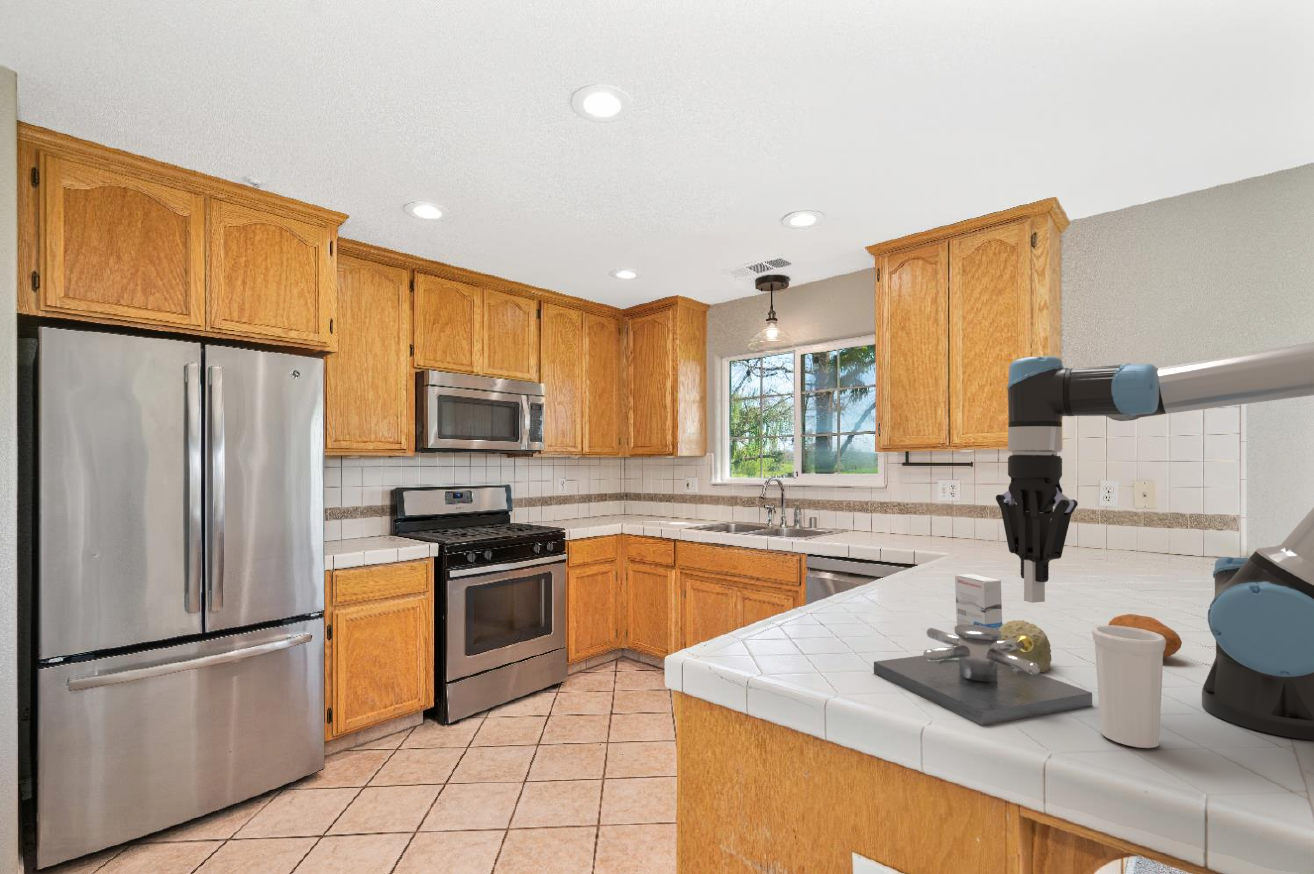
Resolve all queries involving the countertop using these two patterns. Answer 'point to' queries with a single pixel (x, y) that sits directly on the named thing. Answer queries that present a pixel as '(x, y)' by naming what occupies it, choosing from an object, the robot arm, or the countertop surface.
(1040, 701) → the stand
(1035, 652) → the decorative object
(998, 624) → the ink box
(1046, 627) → the countertop surface
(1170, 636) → the potato
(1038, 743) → the countertop surface
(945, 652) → the capstan
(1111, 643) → the cup
